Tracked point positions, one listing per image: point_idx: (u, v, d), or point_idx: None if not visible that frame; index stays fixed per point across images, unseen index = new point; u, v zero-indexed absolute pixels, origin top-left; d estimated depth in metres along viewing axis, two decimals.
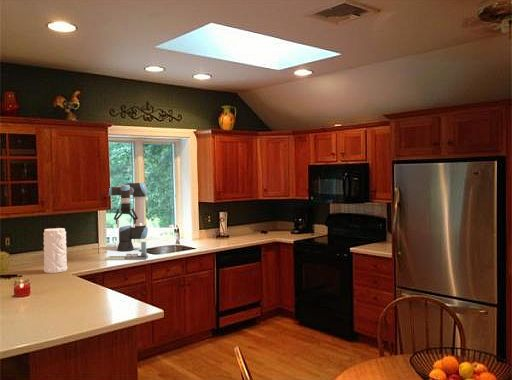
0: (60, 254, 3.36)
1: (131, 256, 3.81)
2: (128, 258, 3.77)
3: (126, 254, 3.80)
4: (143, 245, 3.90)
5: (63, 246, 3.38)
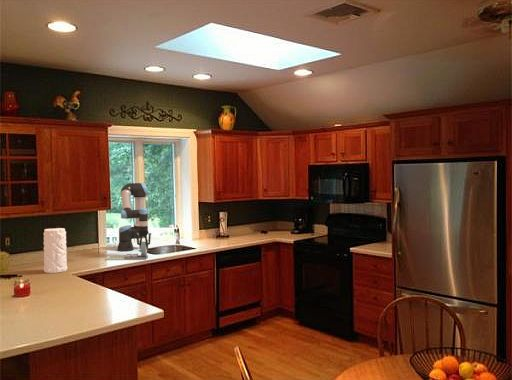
0: (60, 254, 3.36)
1: (131, 256, 3.81)
2: (128, 258, 3.77)
3: (126, 254, 3.80)
4: (143, 245, 3.90)
5: (63, 246, 3.38)
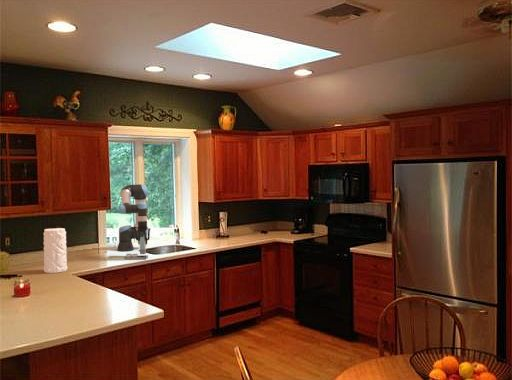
0: (60, 254, 3.36)
1: (131, 256, 3.81)
2: (128, 258, 3.77)
3: (126, 254, 3.80)
4: (142, 241, 3.79)
5: (63, 246, 3.38)
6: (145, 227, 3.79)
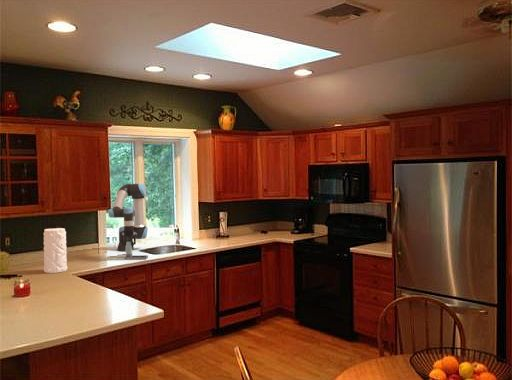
0: (60, 254, 3.36)
1: None
2: (128, 258, 3.77)
3: (117, 255, 3.80)
4: (128, 245, 3.79)
5: (63, 246, 3.38)
6: (131, 232, 3.80)
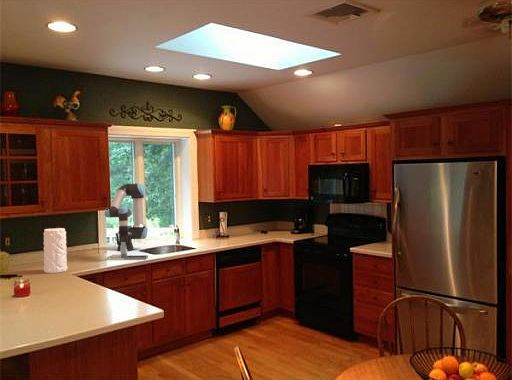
0: (60, 254, 3.36)
1: None
2: (128, 258, 3.77)
3: (111, 255, 3.80)
4: (123, 245, 3.79)
5: (63, 246, 3.38)
6: (126, 232, 3.79)
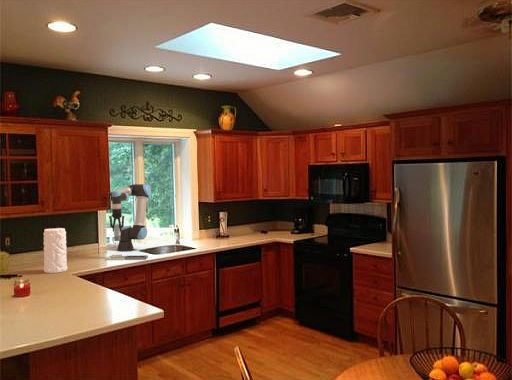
0: (60, 254, 3.36)
1: None
2: (128, 258, 3.77)
3: (111, 255, 3.80)
4: (116, 228, 3.89)
5: (63, 246, 3.38)
6: (119, 215, 3.90)
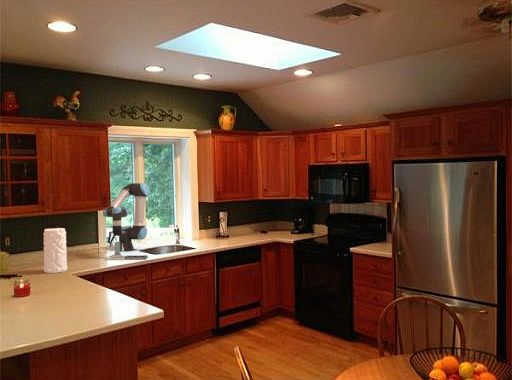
0: (60, 254, 3.36)
1: None
2: (128, 258, 3.77)
3: (111, 255, 3.80)
4: (117, 245, 3.90)
5: (63, 246, 3.38)
6: (119, 231, 3.90)
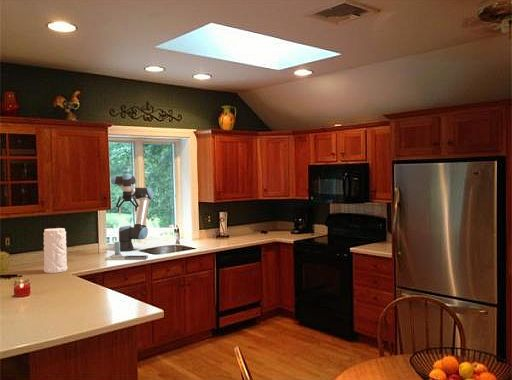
0: (60, 254, 3.36)
1: None
2: (128, 258, 3.77)
3: (111, 255, 3.80)
4: (117, 245, 3.90)
5: (63, 246, 3.38)
6: (129, 197, 4.01)
